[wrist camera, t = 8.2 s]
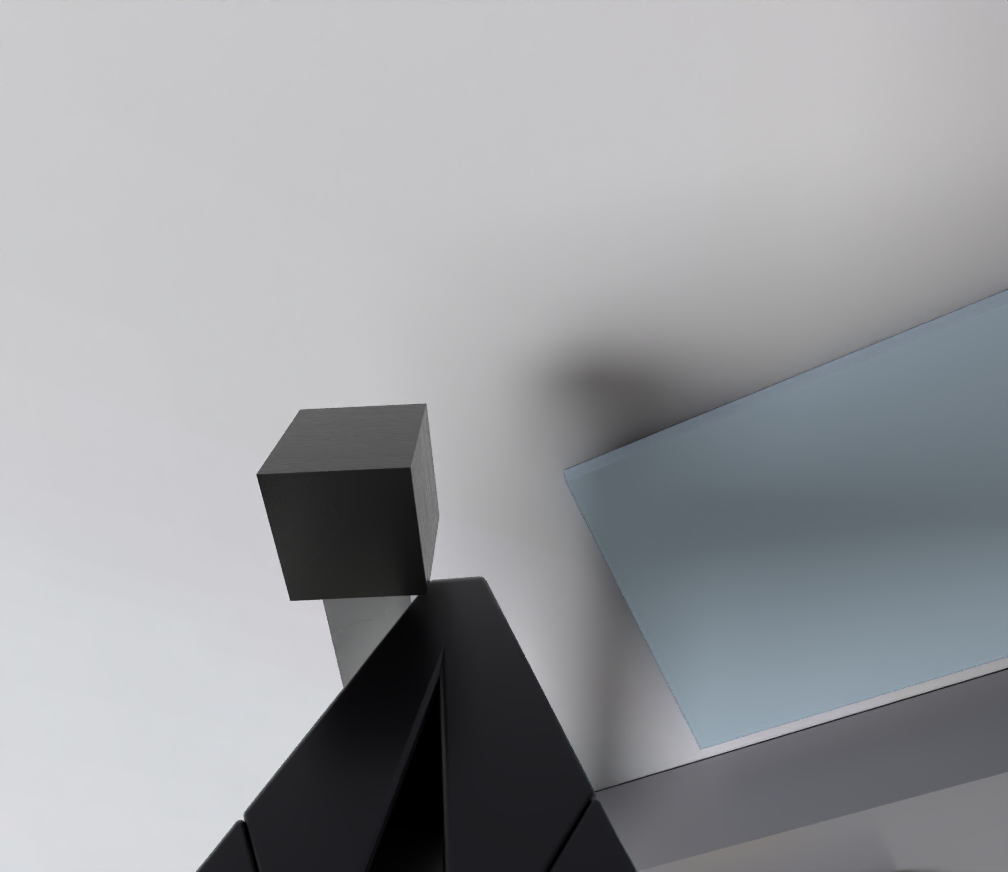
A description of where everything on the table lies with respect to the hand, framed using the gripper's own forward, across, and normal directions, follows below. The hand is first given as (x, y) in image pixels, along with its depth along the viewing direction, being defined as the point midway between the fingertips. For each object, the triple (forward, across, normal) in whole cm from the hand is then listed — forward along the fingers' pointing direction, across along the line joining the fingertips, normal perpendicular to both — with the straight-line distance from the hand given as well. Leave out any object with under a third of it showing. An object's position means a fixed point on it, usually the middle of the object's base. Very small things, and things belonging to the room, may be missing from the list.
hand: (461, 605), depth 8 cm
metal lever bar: (+2, +1, +7) cm, 7 cm away
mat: (+4, -7, +3) cm, 8 cm away
